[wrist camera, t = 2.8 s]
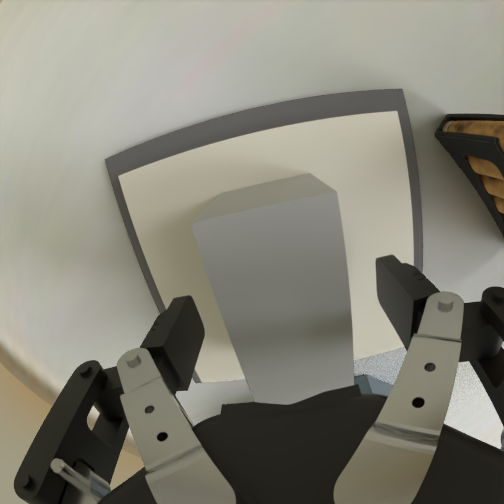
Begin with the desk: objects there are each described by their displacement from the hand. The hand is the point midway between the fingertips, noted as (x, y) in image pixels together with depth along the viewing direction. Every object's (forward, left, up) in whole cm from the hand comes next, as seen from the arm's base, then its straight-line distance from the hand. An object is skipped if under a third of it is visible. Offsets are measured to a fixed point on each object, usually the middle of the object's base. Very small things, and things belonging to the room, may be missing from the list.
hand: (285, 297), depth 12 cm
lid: (0, 0, -3) cm, 3 cm away
